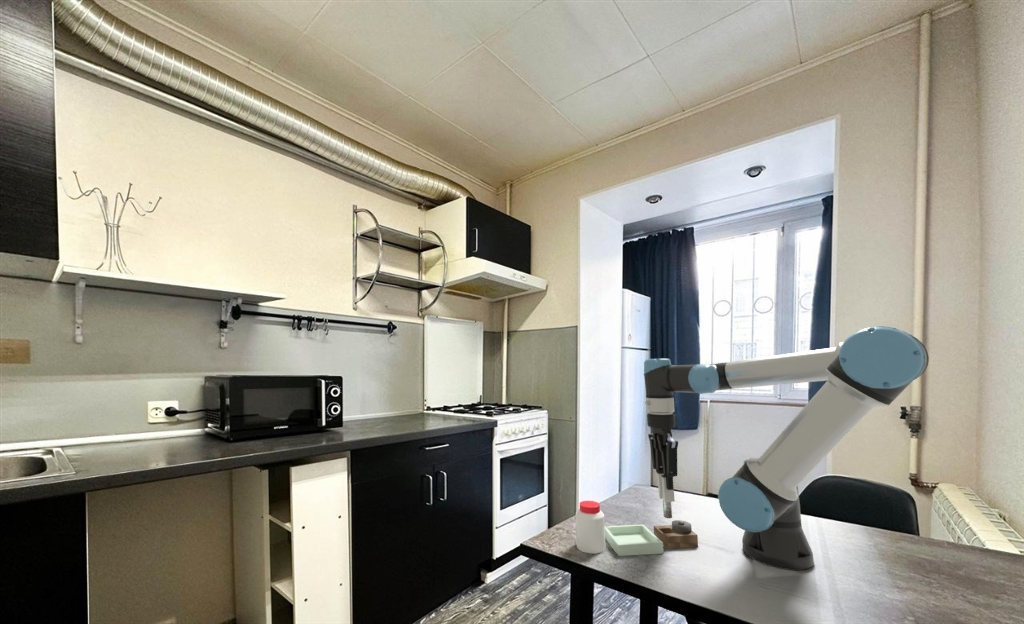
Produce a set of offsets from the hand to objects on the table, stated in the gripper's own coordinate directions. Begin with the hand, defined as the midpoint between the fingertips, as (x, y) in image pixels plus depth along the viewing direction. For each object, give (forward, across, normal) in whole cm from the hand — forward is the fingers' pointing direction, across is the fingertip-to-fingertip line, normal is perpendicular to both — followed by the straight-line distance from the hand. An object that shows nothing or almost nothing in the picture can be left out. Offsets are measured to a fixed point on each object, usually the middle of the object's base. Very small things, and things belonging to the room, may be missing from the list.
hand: (666, 499), depth 111 cm
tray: (+11, 0, -10) cm, 15 cm away
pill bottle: (+11, 0, -22) cm, 25 cm away
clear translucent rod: (+5, 0, 0) cm, 5 cm away
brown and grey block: (+11, 0, +2) cm, 11 cm away
